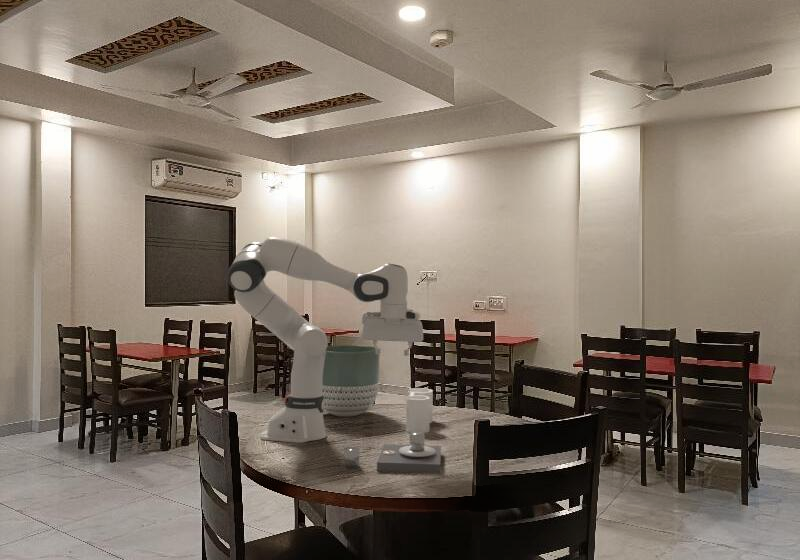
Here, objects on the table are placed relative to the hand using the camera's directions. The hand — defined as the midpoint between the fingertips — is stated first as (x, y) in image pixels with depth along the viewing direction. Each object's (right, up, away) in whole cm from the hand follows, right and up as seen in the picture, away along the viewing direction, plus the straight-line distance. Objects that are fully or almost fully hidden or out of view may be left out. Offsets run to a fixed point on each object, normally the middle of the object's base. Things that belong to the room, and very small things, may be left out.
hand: (392, 354), depth 206 cm
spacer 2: (+8, -26, -19) cm, 33 cm away
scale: (+6, -30, -19) cm, 36 cm away
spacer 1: (-12, -30, -23) cm, 40 cm away
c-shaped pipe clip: (+10, -31, +31) cm, 44 cm away
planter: (-19, -30, +47) cm, 60 cm away
